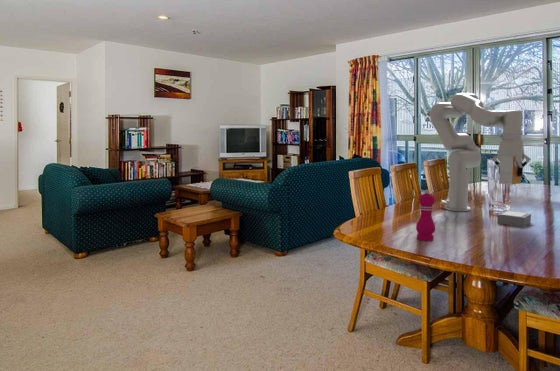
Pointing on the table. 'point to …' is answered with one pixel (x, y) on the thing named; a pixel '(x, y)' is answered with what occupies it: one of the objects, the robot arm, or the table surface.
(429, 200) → the pepper mill
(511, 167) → the small box
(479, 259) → the table surface
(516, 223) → the plinth
